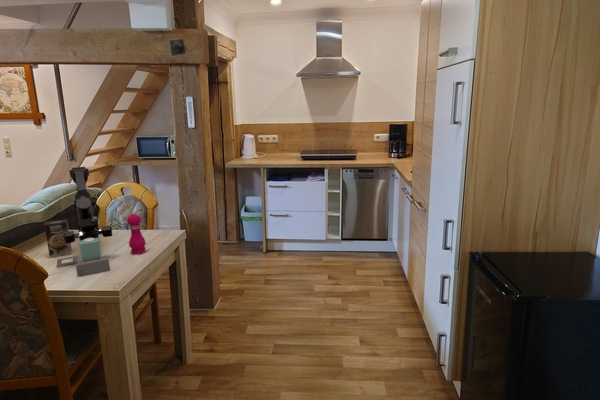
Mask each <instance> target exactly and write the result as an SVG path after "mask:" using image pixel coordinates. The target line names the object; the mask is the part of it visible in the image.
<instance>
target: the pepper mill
mask: <svg viewBox="0 0 600 400" xmlns="http://www.w3.org/2000/svg"><path fill="white" fill-rule="evenodd" d="M130 214H131V215H129V216H128V217H127V221H126V222H127V223H128V225H129V226H128V227H129V230H130V233H131V234H130V238H129V242H128V246H129V248H130V253H131V255H133V256H134V255H135V256H136V255H141V254H142V255H143V254H144V253H146V239H145V237H144V236H143V234H142V232H141V228H142V224H141V222H142V217H141V216H140V215H138V214H136V212H135V211H132V212H131V213H130Z"/></svg>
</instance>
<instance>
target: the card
mask: <svg viewBox="0 0 600 400" xmlns="http://www.w3.org/2000/svg"><path fill="white" fill-rule="evenodd" d="M77 263H79V261H78V255H76V256H75V255H74V256H70V257H69V256H68V257H64V258H58V259H57V260H56V268H63V267H68V266H73V265H76V264H77Z"/></svg>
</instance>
